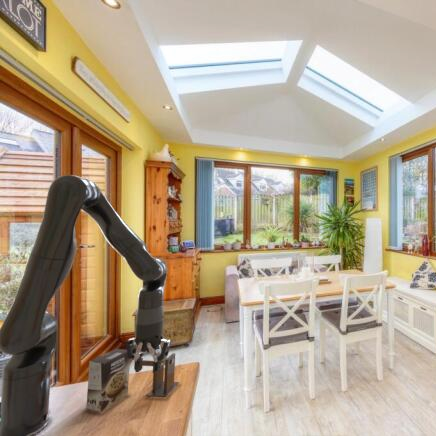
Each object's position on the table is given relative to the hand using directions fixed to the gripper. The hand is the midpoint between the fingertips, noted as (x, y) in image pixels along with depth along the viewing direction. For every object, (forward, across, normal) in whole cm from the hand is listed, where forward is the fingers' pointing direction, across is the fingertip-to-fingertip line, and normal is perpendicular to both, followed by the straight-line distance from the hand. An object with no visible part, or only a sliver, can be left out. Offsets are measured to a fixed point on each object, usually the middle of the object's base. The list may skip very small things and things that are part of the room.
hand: (147, 371), depth 85 cm
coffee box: (+13, -14, +2) cm, 19 cm away
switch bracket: (+13, 0, +9) cm, 16 cm away
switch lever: (+1, 0, +4) cm, 4 cm away
